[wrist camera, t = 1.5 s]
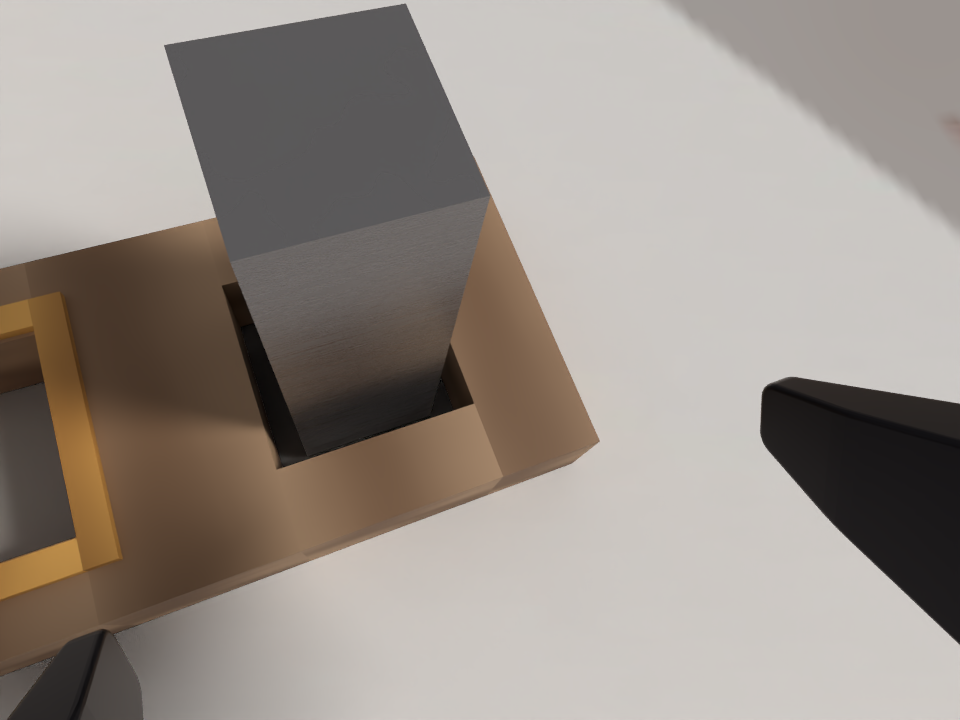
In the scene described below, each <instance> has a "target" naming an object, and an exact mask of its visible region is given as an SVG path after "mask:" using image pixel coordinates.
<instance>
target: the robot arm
mask: <svg viewBox="0 0 960 720" xmlns="http://www.w3.org/2000/svg"><path fill="white" fill-rule="evenodd" d="M760 434H761V438H762V441H763V443H764V445H765V447H766V448H767V450H768V451H769V452H770V453H771V454H772V455H773V456H774V458H775V459H776V460H777V461H778V462H779V463H780V464H781V466H782V467H783V468H784V469H785V470H786V471H787V473H788V474H789V475H790V476H791V477H792V478H793V479H794V481H795V482H796V483H797V484H798V485H799V486H800V487H801V489H802V490H803V491H804V492H805V493H806V494H807V495H808V497H809V498H810V499H811V500H812V501H813V502H814V503H815V505H816V506H817V507H818V508H819V509H820V510H821V511H822V513H823V514H824V515H825V516H826V517H827V518H828V519H829V520H830V521H831V522H832V523H833V525H834V526H835V527H836V528H837V529H838V530H839V531H840V532H841V533H842V534H843V535H844V536H845V537H846V538H848V539H849V540H850V541H851V542H852V543H853V544H854V545H855V546H856V547H857V548H858V549H859V550H860V551H861V552H862V553H863V554H864V555H865V556H867V557H868V558H869V559H870V560H871V561H872V562H873V563H874V564H875V565H876V566H877V567H878V568H879V569H880V570H881V571H882V572H883V573H884V574H886V575H887V576H888V577H889V578H890V579H891V580H892V581H893V582H894V583H895V584H896V585H897V586H898V587H899V588H900V589H901V590H902V591H904V592H905V593H906V594H907V595H908V596H909V597H910V598H911V599H912V600H913V601H914V602H915V603H916V604H917V605H918V606H919V607H920V608H921V609H923V610H924V611H925V612H926V613H927V614H928V615H929V616H930V617H931V618H932V619H933V620H934V621H935V622H936V623H937V624H938V625H939V626H941V627H942V628H943V629H944V630H945V631H946V632H947V633H948V634H949V635H950V636H951V637H952V638H953V639H954V640H955V641H956V642H957V643H958V644H960V404H959V403H952V402H946V401H940V400H934V399H928V398H921V397H915V396H909V395H903V394H897V393H890V392H884V391H878V390H872V389H866V388H860V387H853V386H847V385H841V384H835V383H829V382H822V381H816V380H810V379H804V378H798V377H787V378H784V379H781V380H778V381H776V382H773V383H770V384H768V385H767V386H766V387H765V388H764V390H763V392H762V401H761V425H760ZM7 720H143V706H142V694H141V688H140V684H139V680H138V678H137V675H136V673H135V671H134V670H133V668H132V666H131V664H130V663H129V661H128V659H127V657H126V656H125V654H124V652H123V650H122V649H121V647H120V645H119V643H118V642H117V640H116V638H115V637H114V635H113V634H112V633H111V632H110V631H109V630H106V629H99V630H96V631H93V632H91V633H88V634H85V635H82V636H80V637H77V638H74V639H72V640H70V641H68V642H67V643H66V644H65V645H64V646H63V647H62V648H61V650H60V651H59V652H58V653H57V655H56V656H55V657H54V659H53V660H52V661H51V663H50V664H49V665H48V667H47V668H46V669H45V671H44V672H43V673H42V674H41V676H40V677H39V678H38V680H37V681H36V682H35V684H34V685H33V686H32V688H31V689H30V690H29V692H28V693H27V694H26V695H25V697H24V698H23V699H22V701H21V702H20V703H19V705H18V706H17V707H16V709H15V710H14V711H13V712H12V714H11V715H10V716H9V718H8V719H7Z"/></svg>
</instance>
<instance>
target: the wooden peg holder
mask: <svg viewBox="0 0 960 720" xmlns="http://www.w3.org/2000/svg"><path fill="white" fill-rule="evenodd" d="M474 159H475V158H474ZM475 162H476V160H475ZM476 164H477V162H476ZM477 166H478V165H477ZM478 168H479V167H478ZM479 171H480V169H479ZM480 173H481V171H480ZM481 175H482V174H481ZM482 177H483V176H482ZM483 180H484V178H483ZM484 182H485V180H484ZM485 184H486V183H485ZM486 186H487V185H486ZM487 189H488V187H487ZM488 191H489V189H488ZM489 193H490V192H489ZM490 195H491V194H490ZM253 323H254V321H253V318H252V316H251V313H250V311H249V308H248V306H247V303H246V301H245V298H244V296H243V293H242V291H241V288H240V286H239V283H238V281H237V278H236V276H235V273H234V271H233V268H232V266H231V263H230V260H229V257H228V254H227V250H226V247H225V244H224V241H223V237H222V234H221V231H220V227H219V224H218V221H217V218H212V219H208V220H204V221H200V222H195V223H191V224H187V225H183V226H179V227H174V228H170V229H166V230H162V231H157V232H153V233H149V234H145V235H141V236H136V237H132V238H128V239H124V240H120V241H115V242H111V243H107V244H103V245H98V246H94V247H90V248H86V249H82V250H77V251H73V252H69V253H65V254H61V255H56V256H52V257H48V258H44V259H39V260H35V261H31V262H27V263H23V264H18V265H14V266H10V267H6V268H2V269H0V394H2V393H5V392H9V391H12V390H16V389H19V388H23V387H27V386H30V385H34V384H37V383H41V382H44V383H45V388H46V392H47V397H48V402H49V407H50V412H51V417H52V422H53V426H54V431H55V436H56V441H57V446H58V451H59V456H60V461H61V465H62V470H63V475H64V480H65V485H66V490H67V495H68V500H69V504H70V509H71V514H72V519H73V524H74V529H75V534H76V537H74V538H71V539H68V540H65V541H62V542H59V543H56V544H53V545H50V546H47V547H44V548H41V549H38V550H35V551H32V552H29V553H26V554H23V555H20V556H17V557H15V558H12V559H9V560H6V561H3V562H0V676H2V675H5V674H8V673H10V672H13V671H16V670H19V669H21V668H24V667H27V666H29V665H32V664H35V663H37V662H40V661H43V660H45V659H48V658H51V657H53V656H56V655H57V653H58V652H59V651H60V650H61V648H62V647H63V646H64V645H65V644H66V643H67V642H68V641H70V640H72V639H74V638H77V637H80V636H82V635H85V634H88V633H91V632H93V631H96V630H99V629H106V630H109V631H110V632H111V633H112V634H115V633H118V632H121V631H123V630H126V629H129V628H131V627H134V626H137V625H139V624H142V623H145V622H147V621H150V620H153V619H155V618H158V617H161V616H163V615H166V614H169V613H172V612H174V611H177V610H180V609H182V608H185V607H188V606H190V605H193V604H196V603H198V602H201V601H204V600H206V599H209V598H212V597H214V596H217V595H220V594H223V593H225V592H228V591H231V590H233V589H236V588H239V587H241V586H244V585H247V584H249V583H252V582H255V581H257V580H260V579H263V578H265V577H268V576H271V575H274V574H276V573H279V572H282V571H284V570H287V569H290V568H292V567H295V566H298V565H300V564H303V563H306V562H308V561H311V560H314V559H316V558H319V557H322V556H325V555H327V554H330V553H333V552H335V551H338V550H341V549H343V548H346V547H349V546H351V545H354V544H357V543H359V542H362V541H365V540H367V539H370V538H373V537H376V536H378V535H381V534H384V533H386V532H389V531H392V530H394V529H397V528H400V527H402V526H405V525H408V524H410V523H413V522H416V521H418V520H421V519H424V518H427V517H429V516H432V515H435V514H437V513H440V512H443V511H445V510H448V509H451V508H453V507H456V506H459V505H461V504H464V503H467V502H469V501H472V500H475V499H478V498H480V497H483V496H486V495H488V494H491V493H494V492H496V491H499V490H502V489H504V488H507V487H510V486H512V485H515V484H518V483H520V482H523V481H526V480H529V479H531V478H534V477H537V476H539V475H542V474H545V473H547V472H550V471H553V470H555V469H558V468H561V467H563V466H566V465H569V464H571V463H573V462H574V461H575V460H577V459H578V458H579V457H580V456H582V455H583V454H584V453H586V452H587V451H588V450H589V449H591V448H592V447H593V446H594V445H596V444H597V443H598V442H599V438H598V436H597V434H596V432H595V429H594V427H593V425H592V423H591V420H590V418H589V416H588V414H587V411H586V409H585V407H584V404H583V402H582V400H581V398H580V395H579V393H578V391H577V389H576V386H575V384H574V382H573V380H572V377H571V375H570V373H569V371H568V368H567V366H566V364H565V361H564V359H563V357H562V355H561V352H560V350H559V348H558V346H557V343H556V341H555V339H554V337H553V334H552V332H551V330H550V328H549V325H548V323H547V321H546V318H545V316H544V314H543V312H542V309H541V307H540V305H539V303H538V300H537V298H536V296H535V294H534V291H533V289H532V287H531V284H530V282H529V280H528V278H527V275H526V273H525V271H524V269H523V266H522V264H521V262H520V260H519V257H518V255H517V253H516V251H515V248H514V246H513V244H512V241H511V239H510V237H509V235H508V232H507V230H506V228H505V226H504V223H503V221H502V219H501V217H500V214H499V212H498V210H497V208H496V205H495V203H494V201H493V198H492V196H490V199H489V203H488V207H487V210H486V214H485V218H484V221H483V225H482V228H481V232H480V236H479V239H478V243H477V247H476V250H475V254H474V257H473V261H472V265H471V268H470V272H469V276H468V279H467V283H466V286H465V290H464V294H463V297H462V301H461V305H460V308H459V312H458V315H457V319H456V323H455V326H454V330H453V334H452V337H451V341H450V344H449V348H448V352H447V355H446V359H445V363H444V366H443V370H442V373H441V378H442V380H443V383H444V386H445V388H446V391H447V393H448V396H449V399H450V401H451V404H452V406H453V409H454V411H451V412H448V413H445V414H442V415H439V416H436V417H433V418H430V419H427V420H424V421H421V422H418V423H415V424H412V425H409V426H406V427H403V428H400V429H397V430H394V431H391V432H388V433H385V434H382V435H379V436H376V437H373V438H370V439H367V440H364V441H361V442H358V443H355V444H352V445H349V446H346V447H343V448H340V449H337V450H334V451H331V452H328V453H325V454H322V455H319V456H316V457H313V458H310V459H307V460H304V461H301V462H298V463H295V464H292V465H289V466H286V467H282V464H281V461H280V457H279V454H278V451H277V447H276V444H275V441H274V437H273V434H272V431H271V427H270V424H269V421H268V417H267V414H266V411H265V407H264V404H263V401H262V397H261V394H260V391H259V387H258V384H257V381H256V377H255V374H254V371H253V367H252V364H251V361H250V357H249V354H248V351H247V347H246V344H245V341H244V337H243V334H242V331H241V327H242V326H245V325H249V324H253Z"/></svg>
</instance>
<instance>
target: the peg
mask: <svg viewBox="0 0 960 720" xmlns="http://www.w3.org/2000/svg"><path fill="white" fill-rule="evenodd" d="M164 47H165V50H166V53H167V57H168V60H169V63H170V67H171V70H172V73H173V76H174V80H175V83H176V86H177V90H178V93H179V96H180V99H181V103H182V106H183V109H184V113H185V116H186V119H187V122H188V126H189V129H190V132H191V136H192V139H193V142H194V145H195V149H196V152H197V155H198V158H199V162H200V165H201V168H202V172H203V175H204V178H205V181H206V185H207V188H208V191H209V195H210V198H211V201H212V204H213V208H214V211H215V214H216V218H217V221H218V224H219V227H220V231H221V234H222V237H223V241H224V244H225V247H226V250H227V254H228V257H229V260H230V263H231V266H232V268H233V271H234V273H235V276H236V278H237V281H238V283H239V286H240V288H241V291H242V293H243V296H244V298H245V301H246V303H247V306H248V308H249V311H250V313H251V316H252V318H253V321H254V323H255V326H256V328H257V331H258V333H259V336H260V338H261V341H262V343H263V346H264V348H265V351H266V353H267V356H268V359H269V361H270V364H271V366H272V369H273V371H274V374H275V376H276V379H277V381H278V384H279V386H280V389H281V391H282V394H283V396H284V399H285V401H286V404H287V406H288V409H289V411H290V414H291V416H292V419H293V421H294V424H295V426H296V429H297V431H298V434H299V436H300V439H301V441H302V444H303V446H304V449H305V451H306V454H307V456H311V455H314V454H317V453H320V452H323V451H326V450H329V449H332V448H335V447H338V446H341V445H344V444H347V443H350V442H353V441H356V440H359V439H362V438H365V437H368V436H371V435H374V434H377V433H380V432H383V431H386V430H389V429H392V428H395V427H398V426H401V425H404V424H407V423H410V422H413V421H416V420H419V419H422V418H425V417H428V416H430V413H431V410H432V406H433V402H434V399H435V395H436V392H437V388H438V384H439V381H440V377H441V373H442V370H443V366H444V363H445V359H446V355H447V352H448V348H449V344H450V341H451V337H452V334H453V330H454V326H455V323H456V319H457V315H458V312H459V308H460V305H461V301H462V297H463V294H464V290H465V286H466V283H467V279H468V276H469V272H470V268H471V265H472V261H473V257H474V254H475V250H476V247H477V243H478V239H479V236H480V232H481V228H482V225H483V221H484V218H485V214H486V210H487V207H488V203H489V199H490V196H491V195H490V193H489V191H488V189H487V186H486V184H485V182H484V180H483V177H482V175H481V173H480V171H479V168H478V166H477V164H476V162H475V159H474V157H473V155H472V152H471V150H470V148H469V146H468V143H467V141H466V139H465V137H464V134H463V132H462V130H461V128H460V125H459V123H458V121H457V119H456V116H455V114H454V112H453V109H452V107H451V105H450V103H449V100H448V98H447V96H446V94H445V91H444V89H443V87H442V85H441V82H440V80H439V78H438V76H437V73H436V71H435V69H434V67H433V64H432V62H431V60H430V57H429V55H428V53H427V51H426V48H425V46H424V44H423V42H422V39H421V37H420V35H419V33H418V30H417V28H416V26H415V24H414V21H413V19H412V17H411V14H410V12H409V10H408V8H407V5H406V4H401V5H395V6H389V7H383V8H377V9H372V10H366V11H360V12H354V13H348V14H343V15H337V16H331V17H325V18H319V19H314V20H308V21H302V22H296V23H290V24H285V25H279V26H273V27H267V28H261V29H256V30H250V31H244V32H238V33H232V34H227V35H221V36H215V37H209V38H203V39H198V40H192V41H186V42H180V43H174V44H169V45H164Z"/></svg>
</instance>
